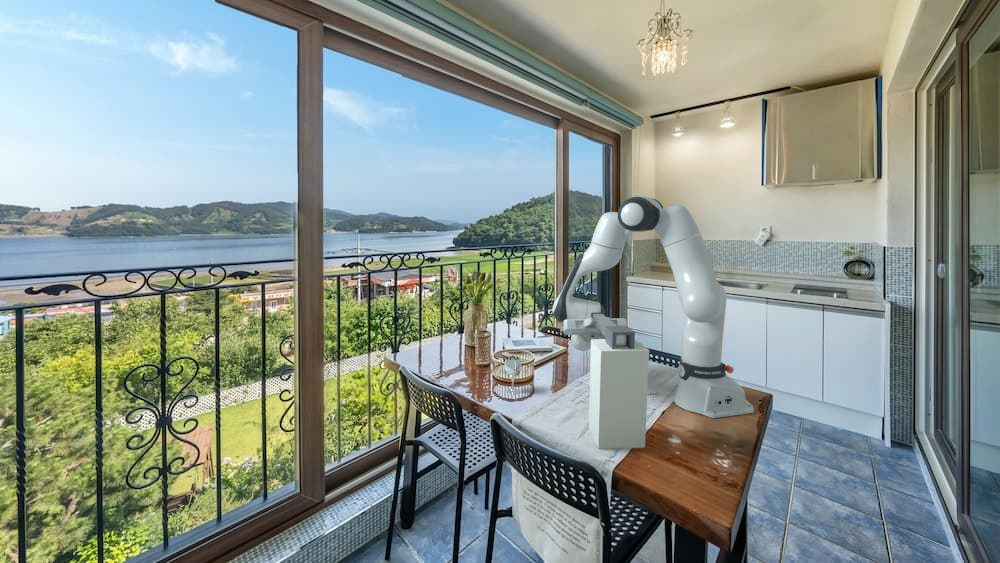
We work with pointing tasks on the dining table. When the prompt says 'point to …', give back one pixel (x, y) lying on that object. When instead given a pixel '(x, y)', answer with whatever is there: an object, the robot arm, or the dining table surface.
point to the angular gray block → (604, 321)
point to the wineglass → (512, 370)
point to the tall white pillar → (618, 390)
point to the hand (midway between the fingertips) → (600, 319)
